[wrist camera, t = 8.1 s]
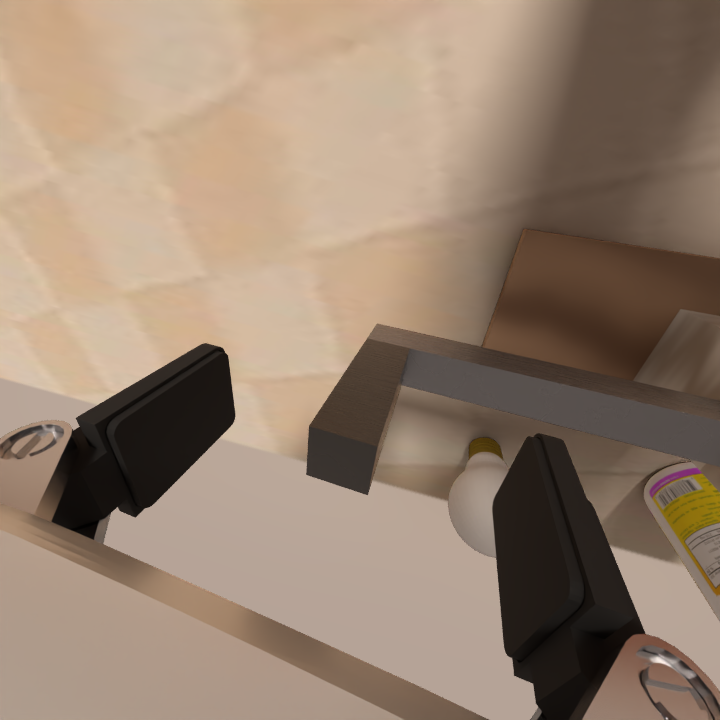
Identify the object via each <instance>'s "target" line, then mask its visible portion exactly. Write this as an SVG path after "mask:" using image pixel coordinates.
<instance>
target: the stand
mask: <svg viewBox="0 0 720 720" xmlns="http://www.w3.org/2000/svg"><path fill="white" fill-rule="evenodd" d="M482 347H484V348H488V349H493V350H497V351H501V352H506V353H510V354H515V355H519V356H524V357H528V358H533V359H537V360H542V361H546V362H551V363H555V364H560V365H564V366H568V367H573V368H577V369H582V370H586V371H591V372H595V373H600V374H604V375H609V376H613V377H618V378H622V379H627V380H631V381H635V382H640V383H644V384H649V385H653V386H658V387H662V388H667V389H671V390H676V391H680V392H685V393H689V394H694V395H698V396H703V397H707V398H711V399H716V400H720V258H714V257H707V256H700V255H694V254H687V253H681V252H674V251H667V250H661V249H654V248H648V247H641V246H635V245H628V244H621V243H615V242H608V241H602V240H595V239H588V238H582V237H575V236H569V235H562V234H555V233H549V232H542V231H536V230H529V229H523V232H522V235H521V238H520V241H519V243H518V246H517V249H516V252H515V255H514V258H513V260H512V263H511V266H510V269H509V272H508V274H507V277H506V280H505V283H504V286H503V288H502V291H501V294H500V297H499V300H498V302H497V305H496V308H495V311H494V314H493V317H492V319H491V322H490V325H489V328H488V331H487V333H486V336H485V339H484V342H483V345H482ZM690 460H691V459H690ZM691 461H692V463H693V464H694V465H695V466H696V467H697V468H698V469H699V470H700V471H701V472H702V474H703V475H704V476H705V477H706V478H707V479H708V480H709V481H710V482H711V484H712V485H713V486H714V487H715V488H716V489H717V490H718V491H719V492H720V467H718V466H714V465H710V464H706V463H703V462H699V461H695V460H691Z"/></svg>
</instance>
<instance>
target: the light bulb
mask: <svg viewBox="0 0 720 720" xmlns="http://www.w3.org/2000/svg"><path fill="white" fill-rule="evenodd" d="M508 471H509V469H508V467H507V465H506V463H505V462H504V460H503V456H502V453H501V449H500V446H499V444H498V443H497V442H496V441H494V440H493V439H490V438H477V439H475V440H473V441H472V442H471V443H470V445H469V460H468V462H467V464H466V468H465V471H464V472H462V473H461V474H460V475H459V476H458V477H457V479H456V480H455V481H454V483H453V485H452V487H451V490H450V493H449V499H448V507H449V514H450V518H451V521H452V523H453V526H454V528H455V529H456V531H457V533H458V534H459V536H460V537H461V538H462V539H463V540H464V542H466V543H467V544H468V545H469V546H470V547H471V548H473V549H474V550H476V551H478V552H479V553H482V554H484V555H487V556H490V557H495V558H496V548H495V537H494V525H493V514H492V505H493V500H494V497H495V495H496V493H497V492H498V490H499V488H500V486H501V484H502V482H503V480H504V479H505V477H506V475H507V473H508Z"/></svg>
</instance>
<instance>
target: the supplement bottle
mask: <svg viewBox="0 0 720 720" xmlns="http://www.w3.org/2000/svg"><path fill="white" fill-rule="evenodd" d="M644 500H645V503H646V505H647V507H648V508H649V510H650V512H651V513H652V515H653V517H654V518H655V520H656V521H657V523H658V524H659V526H660V528H661V529H662V531H663V532H664V534H665V535H666V537H667V539H668V540H669V542H670V543H671V545H672V547H673V548H674V550H675V551H676V553H677V554H678V556H679V558H680V559H681V561H682V562H683V564H684V565H685V567H686V569H687V570H688V572H689V573H690V575H691V576H692V578H693V580H694V581H695V583H696V584H697V586H698V588H699V589H700V591H701V592H702V594H703V595H704V597H705V599H706V600H707V602H708V604H709V605H710V607H711V608H712V610H713V611H714V613H715V615H716V616H717V618H718V620H719V621H720V492H719V491H718V490H717V489H716V488H715V487H714V486H713V485H712V484H711V482H710V481H709V480H708V479H707V478H706V477H705V476H704V475H703V474H702V472H701V471H700V470H699V469H698V468H697V467H696V466H695V465H694V464H693V463H692V462H686V463H680V464H676V465H672V466H669V467H667V468H664V469H662V470H661V471H659V472H657V473H656V474H655V475H653V476H652V477H651V478H650V479H649V481H648V482H647V484H646V486H645V488H644Z"/></svg>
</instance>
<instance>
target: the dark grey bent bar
mask: <svg viewBox="0 0 720 720" xmlns="http://www.w3.org/2000/svg"><path fill="white" fill-rule="evenodd" d="M401 385H404V386H408V387H411V388H415V389H419V390H423V391H427V392H431V393H435V394H439V395H442V396H446V397H450V398H454V399H458V400H462V401H466V402H470V403H474V404H477V405H481V406H485V407H489V408H493V409H497V410H501V411H505V412H508V413H512V414H516V415H520V416H524V417H528V418H532V419H536V420H540V421H543V422H547V423H551V424H555V425H559V426H563V427H567V428H571V429H574V430H578V431H582V432H586V433H590V434H594V435H598V436H602V437H605V438H609V439H613V440H617V441H621V442H625V443H629V444H633V445H637V446H640V447H644V448H648V449H652V450H656V451H660V452H664V453H668V454H671V455H675V456H679V457H683V458H687V459H691V460H695V461H699V462H703V463H706V464H710V465H714V466H718V467H720V400H716V399H711V398H707V397H703V396H698V395H694V394H689V393H685V392H680V391H676V390H671V389H667V388H662V387H658V386H653V385H649V384H644V383H640V382H635V381H631V380H627V379H622V378H618V377H613V376H609V375H604V374H600V373H595V372H591V371H586V370H582V369H577V368H573V367H568V366H564V365H560V364H555V363H551V362H546V361H542V360H537V359H533V358H528V357H524V356H519V355H515V354H510V353H506V352H501V351H497V350H493V349H488V348H484V347H479V346H475V345H470V344H466V343H461V342H457V341H452V340H448V339H443V338H439V337H434V336H430V335H426V334H421V333H417V332H412V331H408V330H403V329H399V328H394V327H390V326H385V325H381V324H377V325H376V326H375V328H374V329H373V331H372V332H371V334H370V335H369V337H368V338H367V340H366V341H365V343H364V344H363V346H362V347H361V349H360V350H359V352H358V353H357V355H356V356H355V358H354V359H353V361H352V362H351V364H350V365H349V367H348V368H347V370H346V371H345V373H344V374H343V376H342V377H341V379H340V380H339V382H338V383H337V385H336V386H335V388H334V389H333V391H332V392H331V394H330V395H329V397H328V398H327V400H326V401H325V403H324V404H323V406H322V408H321V409H320V411H319V412H318V414H317V415H316V417H315V418H314V420H313V421H312V423H311V424H310V426H309V437H308V455H307V473H306V474H307V475H309V476H312V477H315V478H318V479H321V480H324V481H327V482H330V483H333V484H336V485H339V486H342V487H345V488H348V489H351V490H354V491H357V492H360V493H363V494H366V495H368V492H369V489H370V486H371V483H372V479H373V476H374V473H375V470H376V466H377V463H378V460H379V457H380V453H381V450H382V447H383V444H384V440H385V437H386V434H387V431H388V427H389V424H390V421H391V418H392V414H393V411H394V408H395V405H396V401H397V398H398V395H399V392H400V388H401Z"/></svg>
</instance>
